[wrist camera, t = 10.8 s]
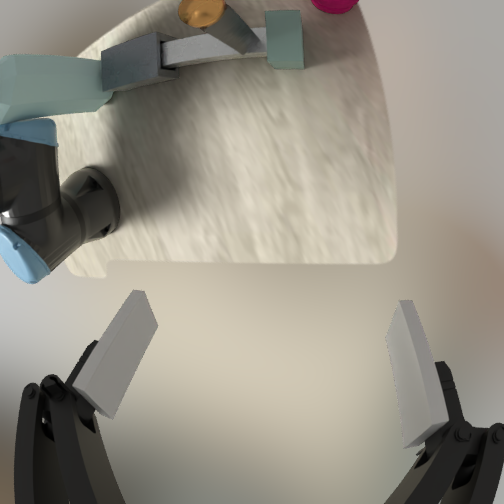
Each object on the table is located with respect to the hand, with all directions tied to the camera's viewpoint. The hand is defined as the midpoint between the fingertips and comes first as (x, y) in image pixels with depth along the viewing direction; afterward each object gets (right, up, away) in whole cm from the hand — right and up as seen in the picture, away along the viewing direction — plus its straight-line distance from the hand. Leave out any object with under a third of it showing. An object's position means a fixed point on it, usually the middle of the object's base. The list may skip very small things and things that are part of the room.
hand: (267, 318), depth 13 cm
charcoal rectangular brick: (-17, +33, +20) cm, 42 cm away
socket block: (+4, +31, +16) cm, 35 cm away
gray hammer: (-4, +31, +16) cm, 35 cm away
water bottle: (-27, +33, +22) cm, 48 cm away
